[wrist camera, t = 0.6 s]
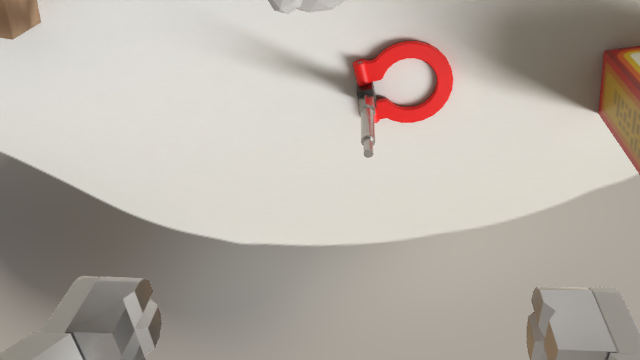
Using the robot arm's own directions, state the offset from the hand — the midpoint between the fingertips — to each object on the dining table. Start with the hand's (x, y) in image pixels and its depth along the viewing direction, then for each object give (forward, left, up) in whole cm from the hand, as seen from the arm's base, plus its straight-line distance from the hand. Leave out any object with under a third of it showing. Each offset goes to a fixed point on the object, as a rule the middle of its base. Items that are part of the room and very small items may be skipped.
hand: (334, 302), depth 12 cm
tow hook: (+13, +5, -44) cm, 46 cm away
